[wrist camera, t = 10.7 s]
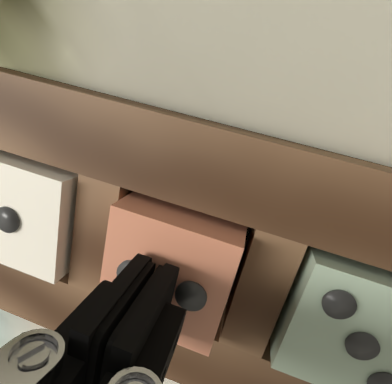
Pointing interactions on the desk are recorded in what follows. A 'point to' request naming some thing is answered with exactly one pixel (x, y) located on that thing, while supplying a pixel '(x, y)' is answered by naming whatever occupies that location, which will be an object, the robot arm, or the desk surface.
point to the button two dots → (179, 257)
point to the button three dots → (335, 322)
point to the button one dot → (36, 216)
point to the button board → (193, 208)
